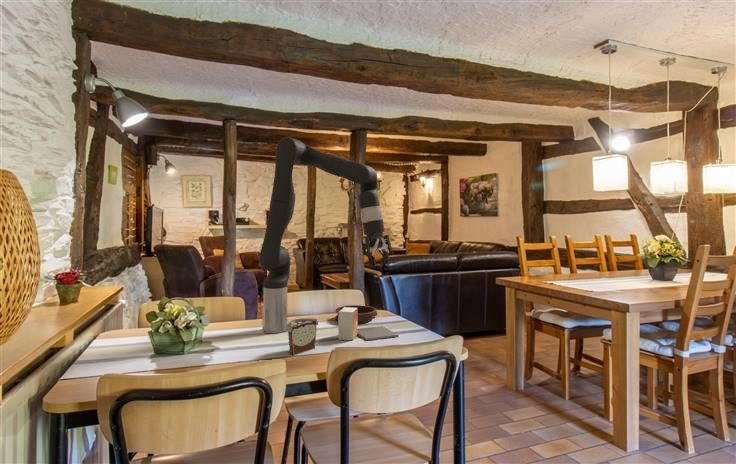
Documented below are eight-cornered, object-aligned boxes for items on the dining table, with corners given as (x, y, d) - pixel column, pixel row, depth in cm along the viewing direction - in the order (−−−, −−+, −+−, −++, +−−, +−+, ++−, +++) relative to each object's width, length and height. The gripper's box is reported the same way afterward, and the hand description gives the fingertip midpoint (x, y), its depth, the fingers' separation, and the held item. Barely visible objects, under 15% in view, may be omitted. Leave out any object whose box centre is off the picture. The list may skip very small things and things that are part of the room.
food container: (305, 344, 149) (306, 316, 149) (318, 347, 145) (318, 318, 145) (278, 352, 140) (278, 322, 139) (290, 356, 136) (290, 325, 135)
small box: (352, 340, 154) (353, 312, 153) (338, 339, 155) (338, 311, 155) (357, 334, 162) (357, 307, 161) (343, 334, 163) (343, 306, 162)
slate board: (366, 340, 154) (366, 338, 154) (352, 331, 167) (352, 329, 167) (398, 337, 159) (398, 334, 159) (382, 328, 172) (382, 326, 172)
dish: (323, 320, 185) (323, 308, 185) (363, 313, 199) (363, 302, 199) (347, 328, 172) (347, 316, 172) (388, 320, 186) (388, 309, 186)
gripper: (375, 221, 159) (382, 264, 158) (351, 223, 147) (359, 269, 147) (391, 217, 154) (399, 261, 154) (368, 219, 143) (377, 266, 142)
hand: (380, 265), depth 150 cm, fingers open, 8 cm apart
